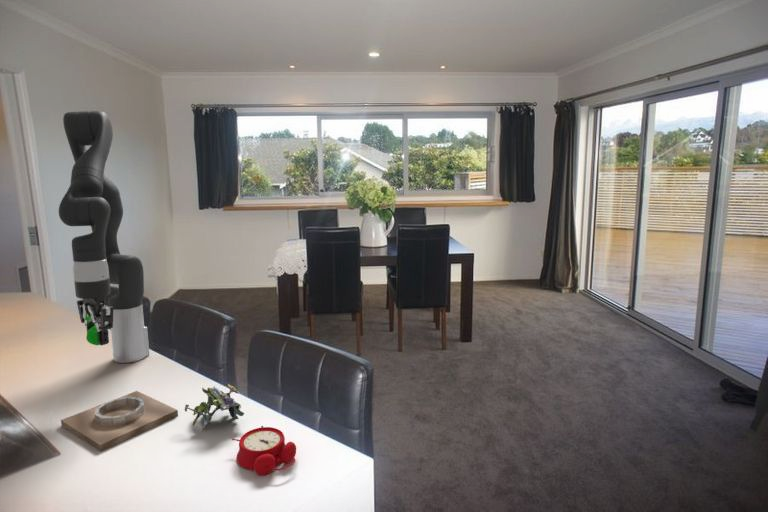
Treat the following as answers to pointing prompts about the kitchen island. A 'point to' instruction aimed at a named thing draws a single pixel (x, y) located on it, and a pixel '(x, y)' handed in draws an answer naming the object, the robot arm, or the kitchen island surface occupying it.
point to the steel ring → (120, 418)
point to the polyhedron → (92, 336)
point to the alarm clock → (264, 450)
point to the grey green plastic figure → (217, 404)
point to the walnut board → (113, 435)
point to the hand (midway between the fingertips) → (98, 341)
